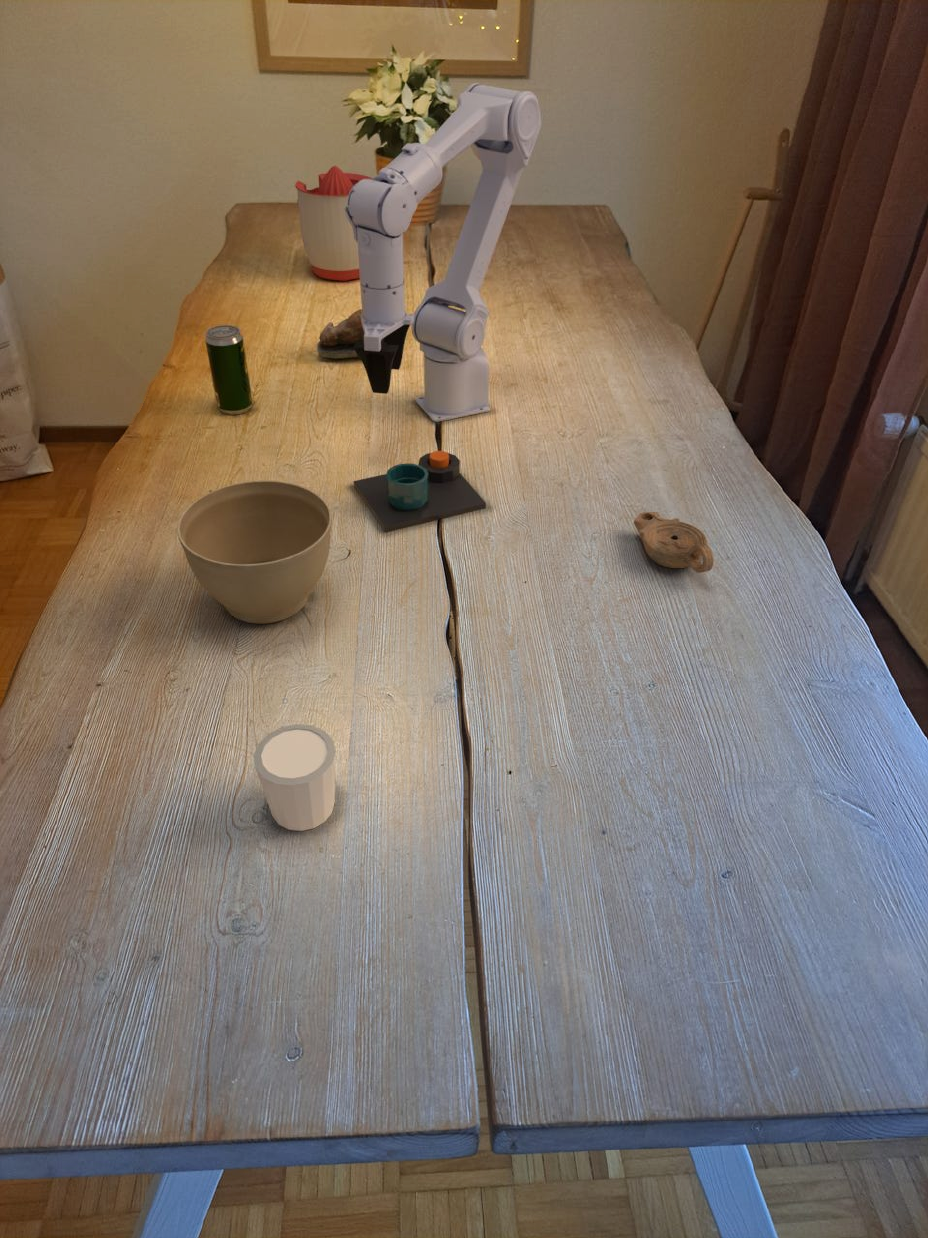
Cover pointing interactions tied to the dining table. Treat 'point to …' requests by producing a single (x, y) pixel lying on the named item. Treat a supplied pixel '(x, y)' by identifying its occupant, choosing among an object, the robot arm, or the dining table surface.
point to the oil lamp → (673, 542)
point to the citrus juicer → (329, 225)
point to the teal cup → (407, 486)
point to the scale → (444, 500)
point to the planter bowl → (257, 546)
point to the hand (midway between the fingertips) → (386, 379)
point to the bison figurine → (341, 337)
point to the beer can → (229, 369)
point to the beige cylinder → (297, 775)
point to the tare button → (439, 459)
